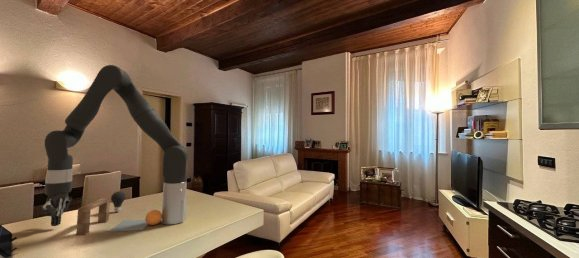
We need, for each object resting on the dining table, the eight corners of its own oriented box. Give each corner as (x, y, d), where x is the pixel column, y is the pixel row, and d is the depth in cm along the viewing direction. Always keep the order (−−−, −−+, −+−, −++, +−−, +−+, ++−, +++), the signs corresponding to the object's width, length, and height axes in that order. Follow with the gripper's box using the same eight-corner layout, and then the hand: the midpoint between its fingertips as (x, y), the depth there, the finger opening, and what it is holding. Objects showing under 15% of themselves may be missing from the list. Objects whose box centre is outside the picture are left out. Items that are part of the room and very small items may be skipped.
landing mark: (153, 219, 102) (153, 219, 102) (142, 230, 90) (142, 229, 90) (123, 221, 99) (123, 220, 99) (107, 231, 87) (107, 231, 87)
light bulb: (116, 214, 108) (118, 193, 108) (107, 213, 109) (108, 192, 109) (127, 210, 113) (128, 190, 114) (118, 210, 114) (119, 189, 115)
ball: (164, 220, 100) (162, 206, 100) (159, 225, 94) (158, 211, 94) (149, 223, 98) (147, 209, 98) (144, 228, 92) (142, 214, 93)
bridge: (108, 220, 99) (110, 198, 100) (85, 234, 85) (87, 208, 85) (100, 221, 99) (102, 198, 99) (76, 235, 84) (78, 208, 84)
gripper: (57, 183, 84) (53, 231, 83) (81, 178, 97) (78, 219, 96) (32, 184, 83) (28, 232, 82) (60, 178, 96) (57, 220, 95)
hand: (55, 225), depth 89 cm, fingers closed
